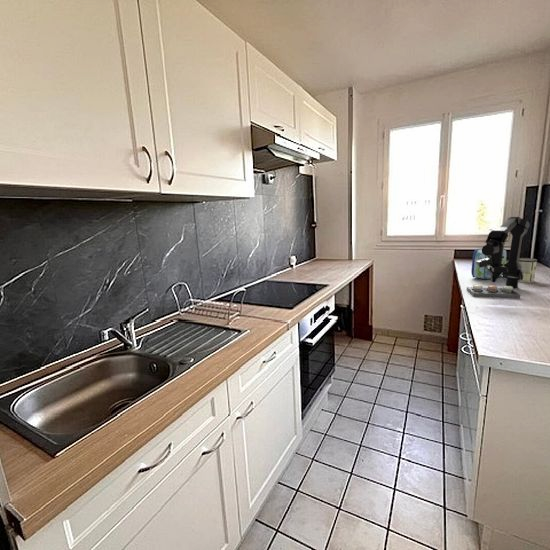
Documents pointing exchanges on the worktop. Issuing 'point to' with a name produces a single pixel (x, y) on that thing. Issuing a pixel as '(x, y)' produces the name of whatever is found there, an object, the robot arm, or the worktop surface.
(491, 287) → the button terracotta
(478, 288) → the button ivory
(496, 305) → the worktop surface
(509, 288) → the button sage
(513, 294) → the console
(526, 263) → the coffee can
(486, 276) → the lunch box
